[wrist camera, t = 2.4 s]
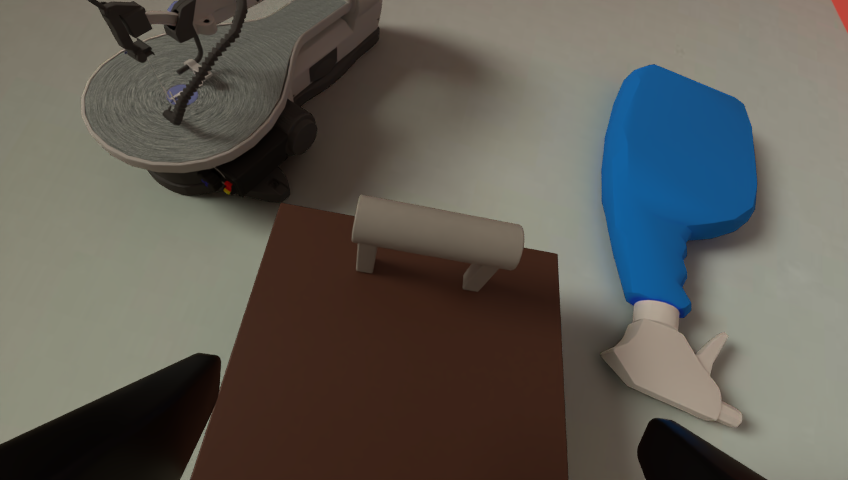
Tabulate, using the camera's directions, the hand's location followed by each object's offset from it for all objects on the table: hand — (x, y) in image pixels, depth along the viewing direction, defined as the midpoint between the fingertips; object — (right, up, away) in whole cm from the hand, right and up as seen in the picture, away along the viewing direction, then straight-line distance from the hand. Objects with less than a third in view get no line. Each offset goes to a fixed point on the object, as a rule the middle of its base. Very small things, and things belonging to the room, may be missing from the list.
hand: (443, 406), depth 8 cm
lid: (-1, -1, +8) cm, 8 cm away
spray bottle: (+16, +4, +20) cm, 26 cm away
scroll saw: (-10, +13, +18) cm, 25 cm away
